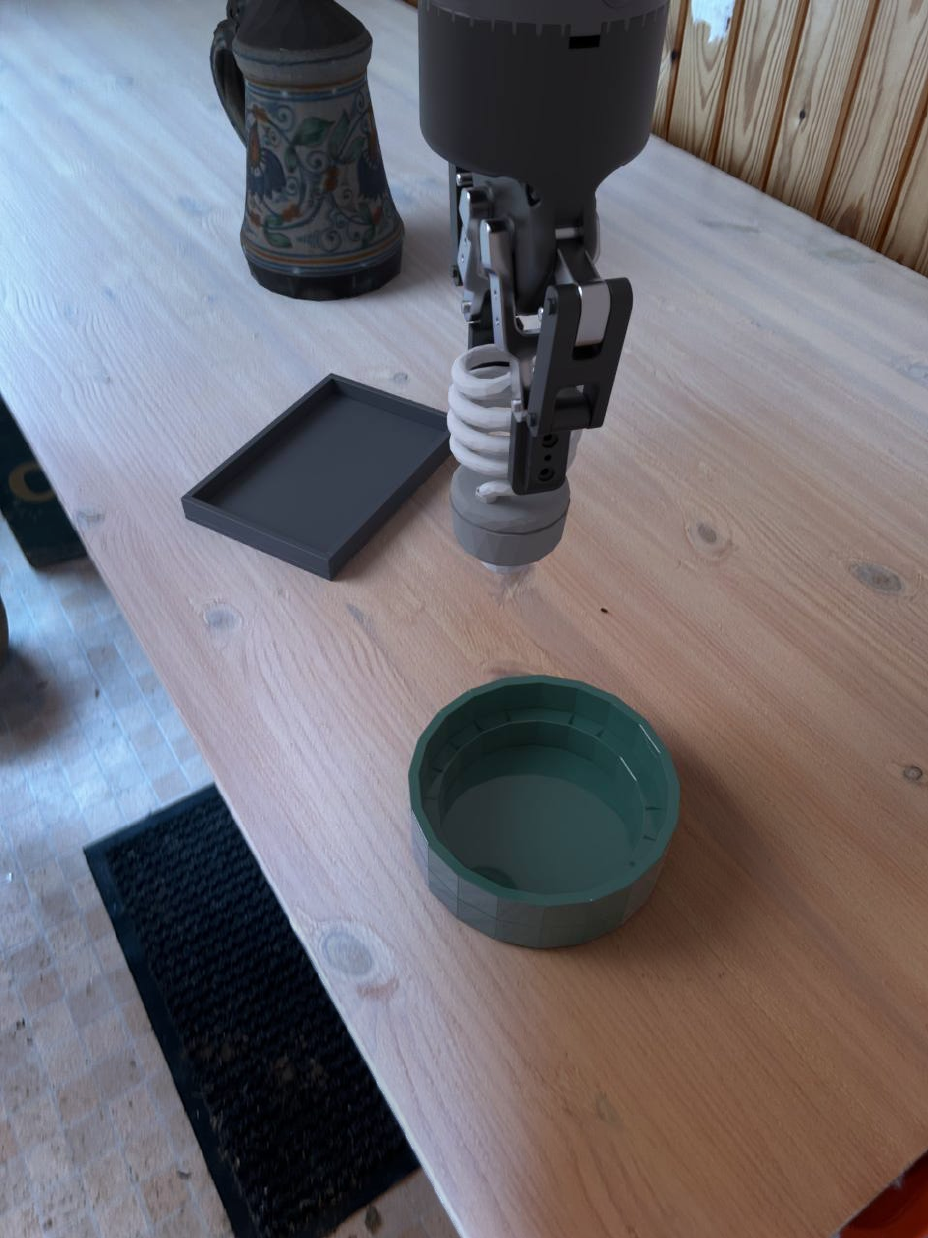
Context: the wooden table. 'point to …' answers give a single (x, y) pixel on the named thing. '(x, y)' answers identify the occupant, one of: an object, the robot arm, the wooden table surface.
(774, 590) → the wooden table surface
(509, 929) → the bowl
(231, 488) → the tray
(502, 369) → the light bulb
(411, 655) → the wooden table surface
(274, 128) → the beer stein
